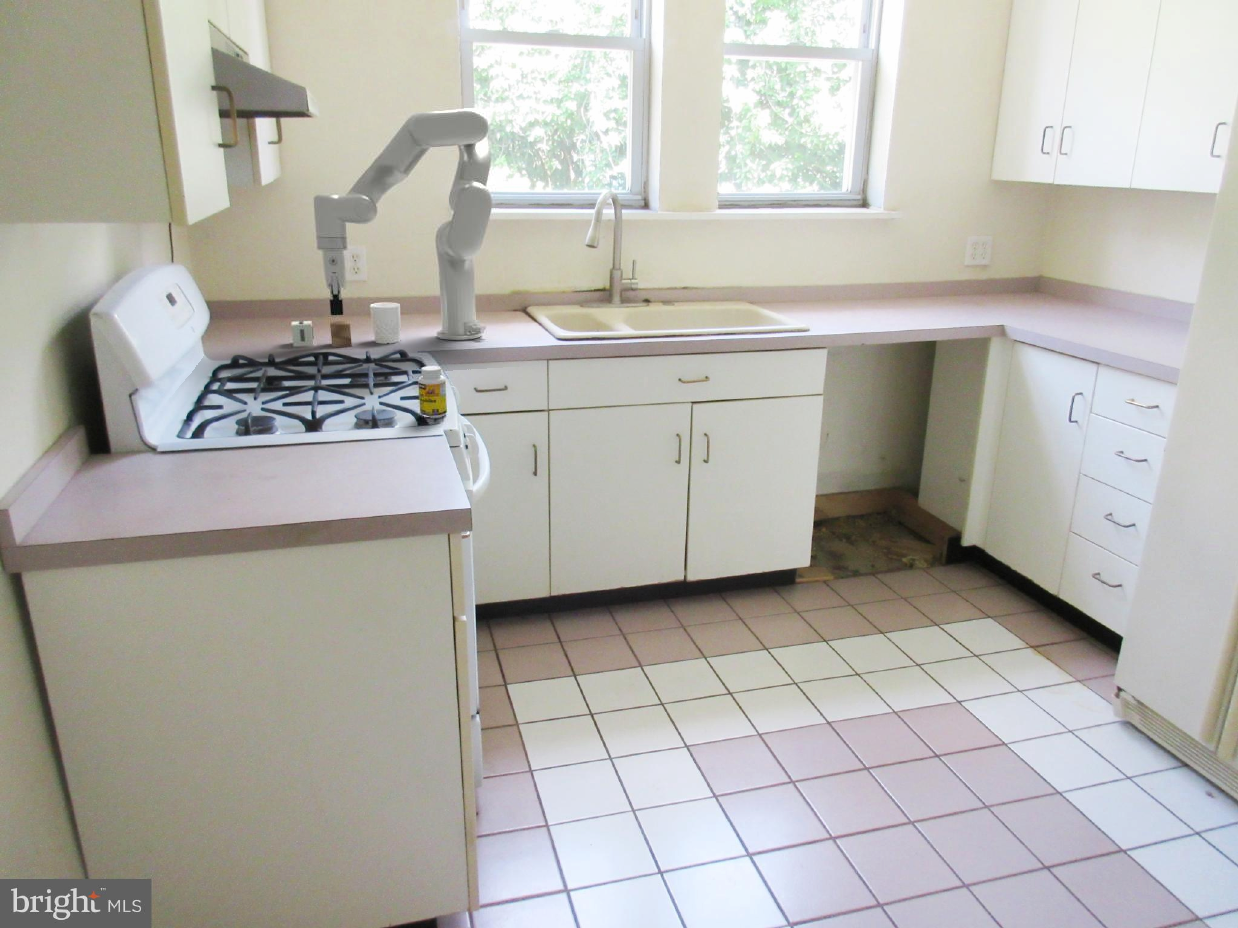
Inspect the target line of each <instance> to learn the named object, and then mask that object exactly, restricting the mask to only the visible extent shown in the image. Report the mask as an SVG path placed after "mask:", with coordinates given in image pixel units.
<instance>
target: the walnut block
mask: <svg viewBox="0 0 1238 928" xmlns="http://www.w3.org/2000/svg"><path fill="white" fill-rule="evenodd" d="M350 322H351V321H350V320H340V321H339V320H336V321H335V320H334V321H330V322H329V326H330V327H329V328H330V336H331V338H330V339H331V347H332V348H342V347H343V348H347V347H353V346H352V344H353V343H352V333H351V323H350Z"/></svg>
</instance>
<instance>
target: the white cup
mask: <svg viewBox="0 0 1238 928" xmlns="http://www.w3.org/2000/svg"><path fill="white" fill-rule="evenodd" d="M369 309H370V316H371V325H372V331H373V333H374V334H373V336H374V342H375V343H377V344H383V345H384V344H387V343H389V344H395V343H399V342H400V341H401V304H400V303H399V302H388V301H387V302H376V303H372V304H370V305H369ZM387 345H388V344H387Z"/></svg>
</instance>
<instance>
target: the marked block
mask: <svg viewBox="0 0 1238 928" xmlns="http://www.w3.org/2000/svg"><path fill="white" fill-rule="evenodd" d="M312 324H313V323H312V320H307V321H306V320H299V321H291V324H290V325H291V326H290V327H291V334H292V345H293V347H294V348H297V347H311V346H312V347H313V346H314V327H313V325H312Z"/></svg>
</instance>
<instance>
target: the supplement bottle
mask: <svg viewBox="0 0 1238 928" xmlns="http://www.w3.org/2000/svg"><path fill="white" fill-rule="evenodd" d="M420 372H421V376H420V377H419V378H418V380H417V382H418V383H417V384H418V399H419V402H418V403H419V414H420V413H421V414H422V415H426V416H429V417H431V418H430V419H441V418H443V417H445V416H446V415H447V414H448V409H447V408H448V406H447V405H448V403H447V385H446V377H445V376H443V375H442V368H441V367H440V366H437V365H427V366H423V367H421V371H420ZM446 413H447V414H446ZM421 414H420V415H421ZM445 414H446V415H445ZM444 415H445V416H444ZM442 416H443V417H442Z"/></svg>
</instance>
